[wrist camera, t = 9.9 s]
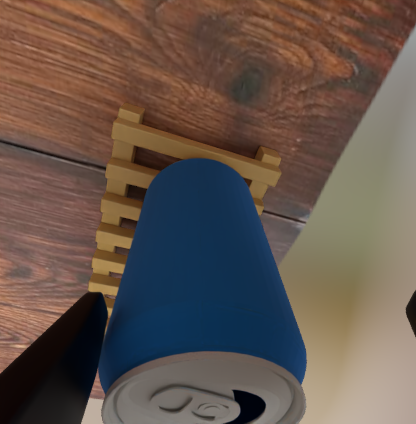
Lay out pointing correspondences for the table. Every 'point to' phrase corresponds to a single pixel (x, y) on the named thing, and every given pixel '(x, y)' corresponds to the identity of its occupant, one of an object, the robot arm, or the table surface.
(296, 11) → the table surface
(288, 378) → the beverage can
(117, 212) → the rack
